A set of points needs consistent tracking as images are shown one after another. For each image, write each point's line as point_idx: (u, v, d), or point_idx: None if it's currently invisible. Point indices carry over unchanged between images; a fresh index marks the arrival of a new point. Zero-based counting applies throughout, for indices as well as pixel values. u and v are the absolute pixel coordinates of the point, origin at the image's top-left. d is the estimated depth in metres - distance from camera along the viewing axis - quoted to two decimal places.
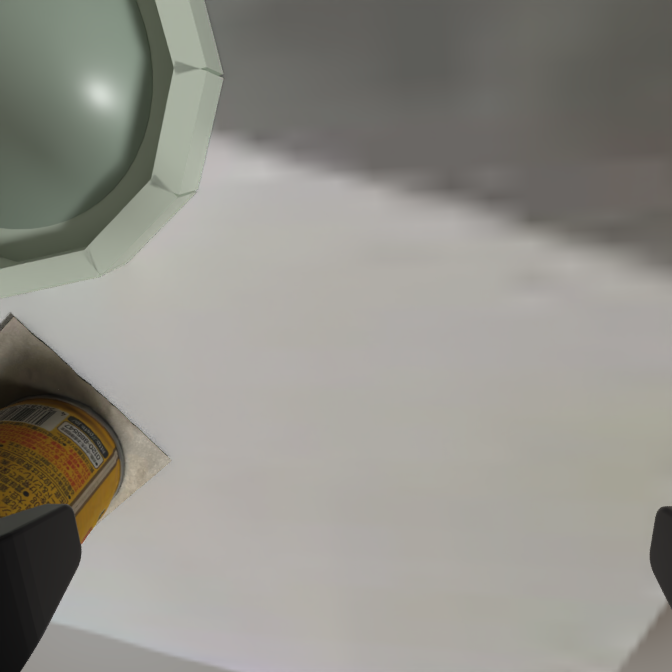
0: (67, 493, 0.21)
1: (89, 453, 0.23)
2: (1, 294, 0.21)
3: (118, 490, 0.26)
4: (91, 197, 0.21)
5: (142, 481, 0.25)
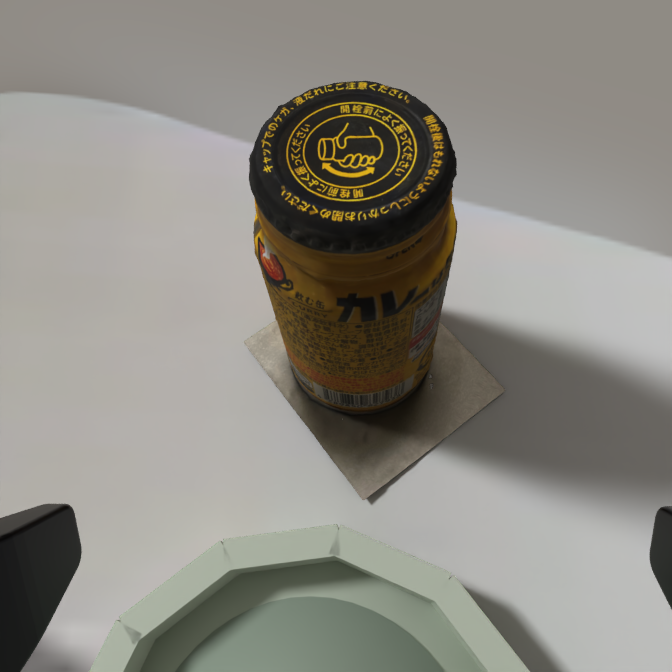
0: None
1: (288, 356, 0.23)
2: (330, 529, 0.20)
3: None
4: (238, 624, 0.20)
5: (278, 321, 0.26)
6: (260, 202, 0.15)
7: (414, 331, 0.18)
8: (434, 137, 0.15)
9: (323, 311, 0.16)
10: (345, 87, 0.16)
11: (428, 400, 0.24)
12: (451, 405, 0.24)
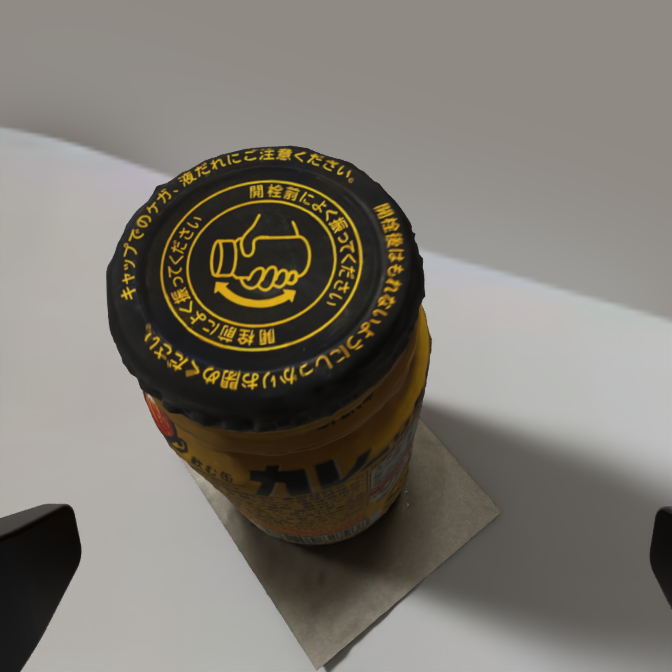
0: None
1: None
2: None
3: None
4: None
5: None
6: (118, 345, 0.09)
7: (373, 483, 0.13)
8: (390, 241, 0.09)
9: (233, 485, 0.11)
10: (259, 157, 0.10)
11: (403, 525, 0.19)
12: (432, 532, 0.19)
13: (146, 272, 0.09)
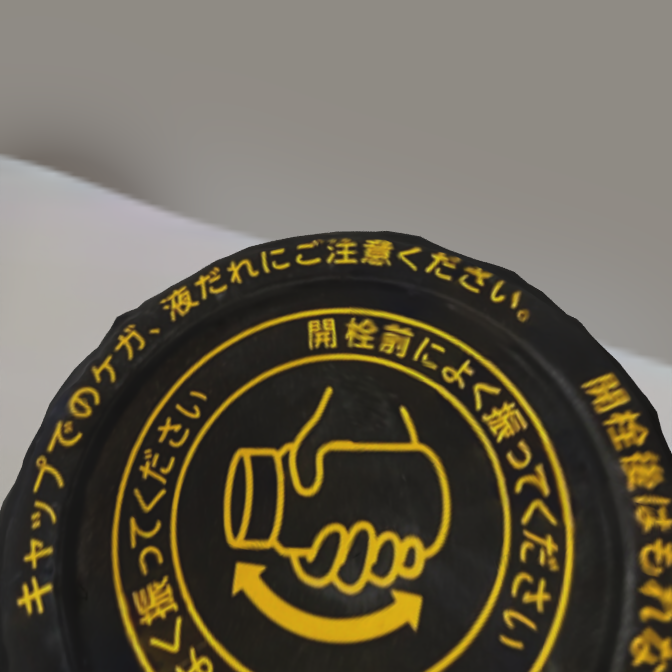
0: None
1: None
2: None
3: None
4: None
5: None
6: None
7: None
8: (633, 473, 0.04)
9: None
10: (325, 257, 0.05)
11: None
12: None
13: (80, 535, 0.04)
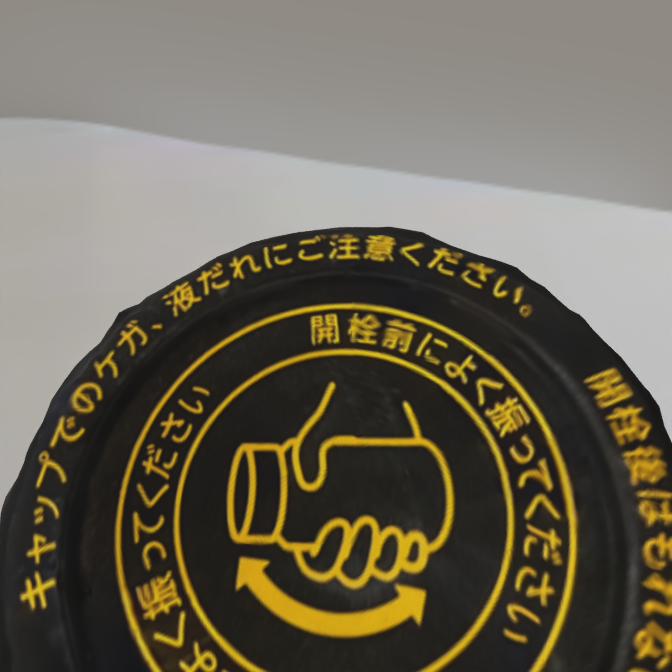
0: None
1: None
2: None
3: None
4: None
5: None
6: None
7: None
8: (636, 467, 0.04)
9: None
10: (328, 252, 0.05)
11: None
12: None
13: (84, 530, 0.04)
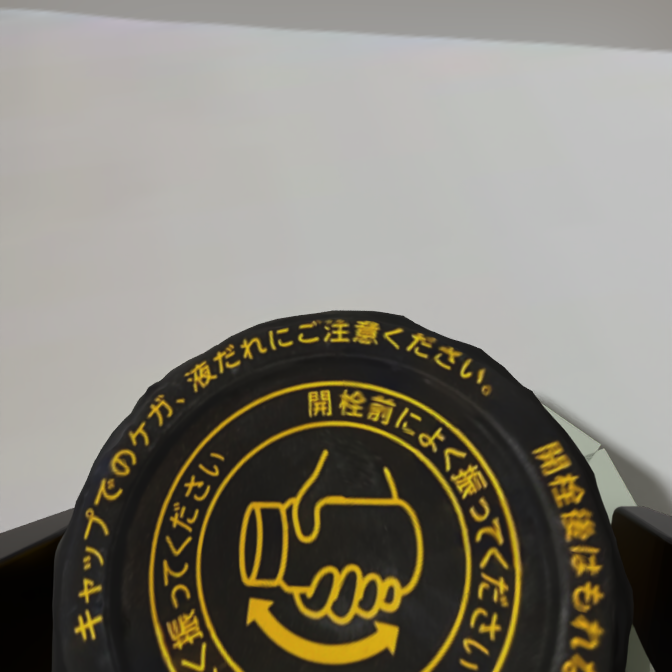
0: None
1: None
2: None
3: None
4: None
5: None
6: None
7: None
8: (570, 527, 0.05)
9: None
10: (323, 336, 0.06)
11: None
12: None
13: (123, 575, 0.05)
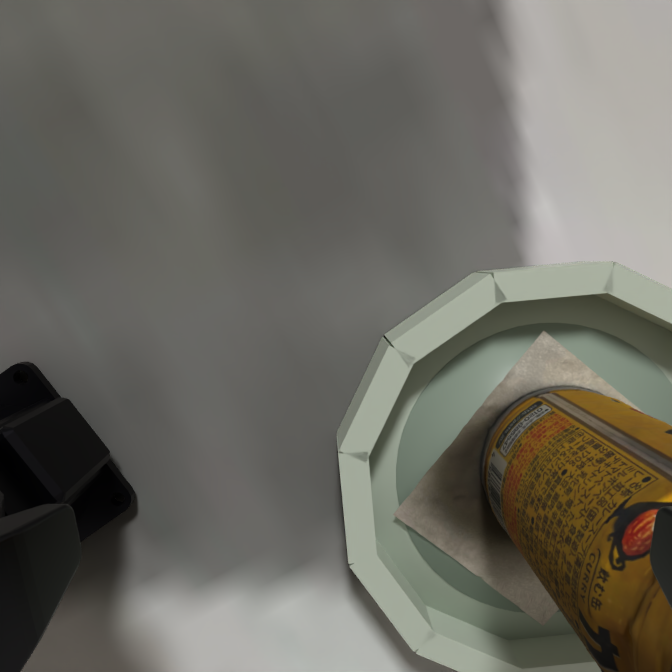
0: (572, 431, 0.17)
1: (533, 419, 0.19)
2: None
3: (594, 391, 0.21)
4: (631, 354, 0.21)
5: (578, 363, 0.21)
6: None
7: None
8: None
9: (587, 602, 0.13)
10: None
11: (515, 551, 0.22)
12: (514, 575, 0.22)
13: None
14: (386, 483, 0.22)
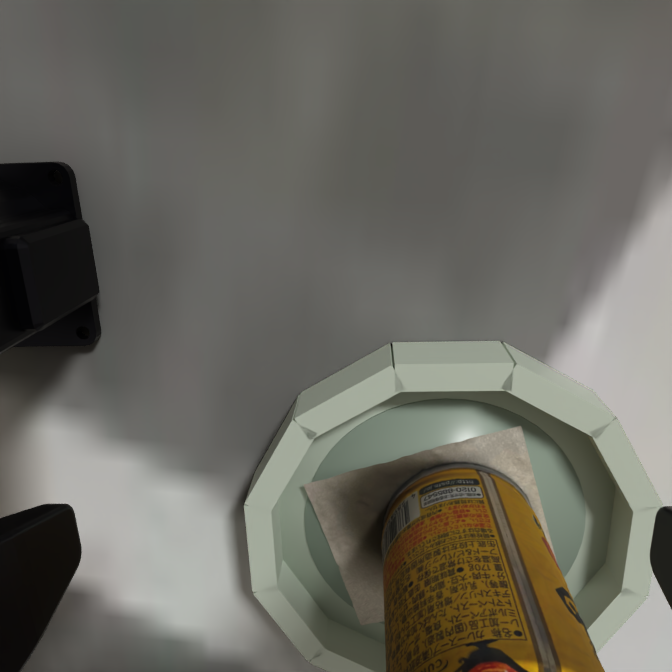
0: (487, 535, 0.18)
1: (463, 494, 0.20)
2: (645, 591, 0.22)
3: (524, 494, 0.23)
4: (573, 485, 0.23)
5: (528, 466, 0.22)
6: None
7: None
8: None
9: None
10: None
11: (377, 565, 0.24)
12: (365, 581, 0.24)
13: None
14: (313, 457, 0.23)
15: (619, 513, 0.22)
